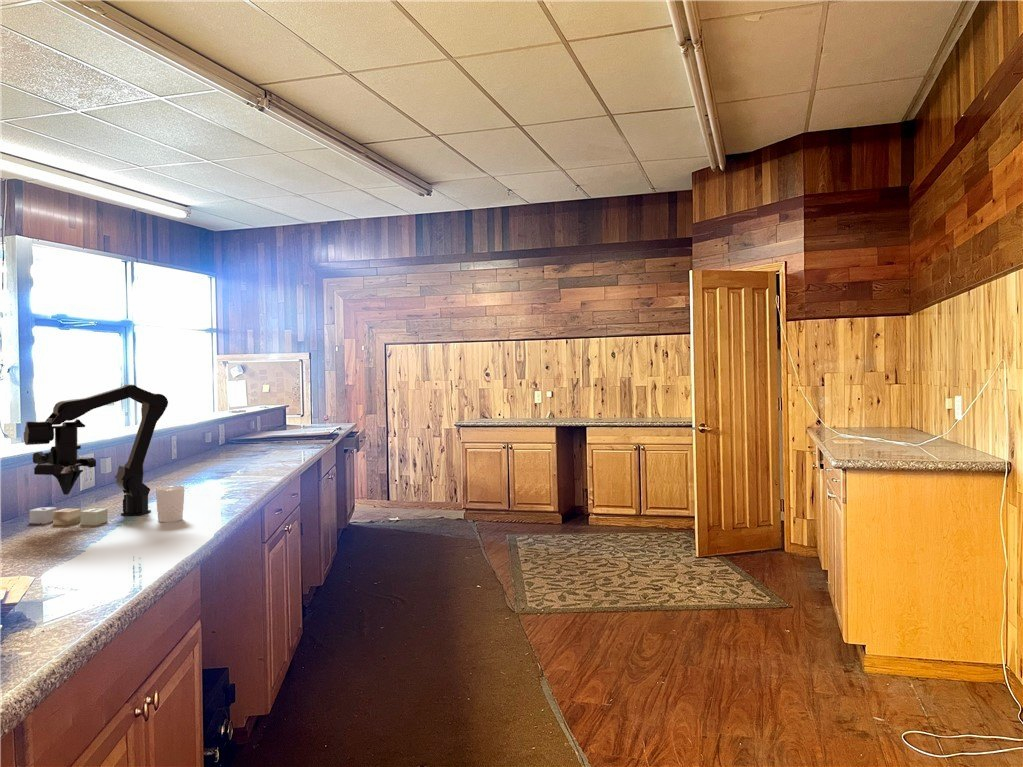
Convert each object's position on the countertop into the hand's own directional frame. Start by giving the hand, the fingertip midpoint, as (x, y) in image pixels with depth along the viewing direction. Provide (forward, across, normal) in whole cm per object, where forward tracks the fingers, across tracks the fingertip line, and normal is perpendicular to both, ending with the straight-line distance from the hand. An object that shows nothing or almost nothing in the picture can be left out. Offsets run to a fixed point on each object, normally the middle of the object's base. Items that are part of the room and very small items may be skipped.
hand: (66, 494), depth 210 cm
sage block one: (+9, -1, +8) cm, 12 cm away
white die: (+9, -1, -8) cm, 12 cm away
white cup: (+9, -8, +28) cm, 31 cm away
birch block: (+9, 0, 0) cm, 9 cm away
